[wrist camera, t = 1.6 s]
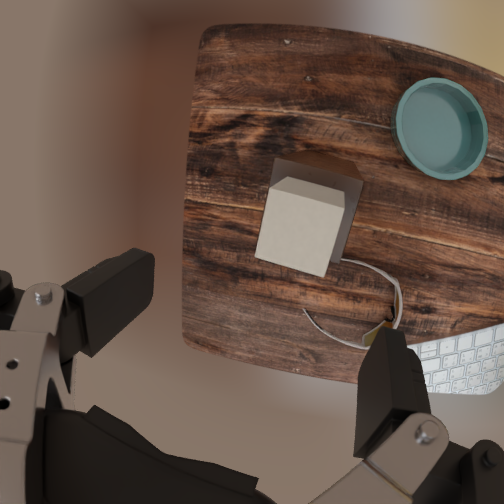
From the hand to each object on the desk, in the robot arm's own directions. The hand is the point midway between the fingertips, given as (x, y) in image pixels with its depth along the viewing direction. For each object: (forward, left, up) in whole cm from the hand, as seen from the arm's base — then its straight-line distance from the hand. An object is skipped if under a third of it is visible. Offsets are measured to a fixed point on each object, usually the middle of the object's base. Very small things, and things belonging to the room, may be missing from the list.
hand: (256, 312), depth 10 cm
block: (0, 0, -15) cm, 15 cm away
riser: (0, 0, -37) cm, 37 cm away
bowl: (-12, +14, -37) cm, 41 cm away
